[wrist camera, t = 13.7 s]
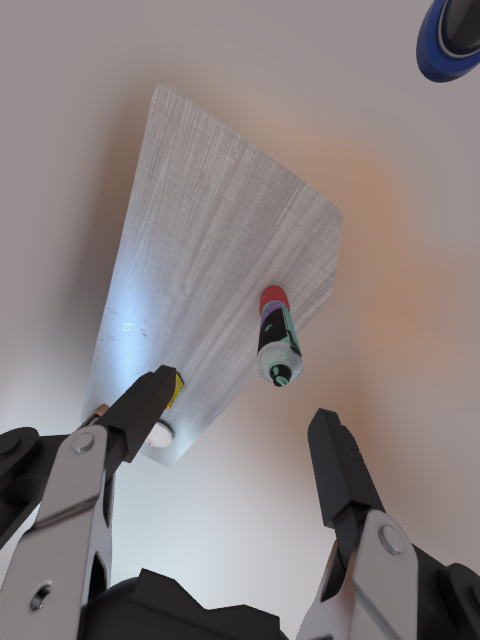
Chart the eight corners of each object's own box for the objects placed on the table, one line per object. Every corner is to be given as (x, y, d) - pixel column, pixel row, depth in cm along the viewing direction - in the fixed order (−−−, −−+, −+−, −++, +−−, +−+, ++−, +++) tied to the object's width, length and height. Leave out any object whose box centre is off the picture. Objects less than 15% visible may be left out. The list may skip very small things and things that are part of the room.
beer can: (271, 280, 46) (272, 291, 35) (291, 295, 46) (298, 311, 36) (256, 299, 48) (252, 315, 38) (275, 313, 49) (276, 333, 38)
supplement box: (171, 386, 67) (154, 410, 57) (164, 373, 65) (145, 397, 55) (185, 384, 65) (169, 409, 56) (178, 371, 63) (161, 395, 54)
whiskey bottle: (103, 403, 78) (5, 498, 49) (121, 416, 80) (37, 515, 51) (93, 411, 82) (-4, 504, 53) (110, 424, 84) (26, 520, 55)
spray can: (267, 296, 35) (265, 352, 17) (293, 305, 35) (318, 370, 17) (258, 320, 38) (248, 390, 20) (282, 328, 38) (294, 407, 19)
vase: (138, 429, 82) (127, 445, 75) (147, 410, 75) (136, 426, 69) (168, 444, 83) (160, 461, 76) (180, 427, 76) (172, 444, 70)
